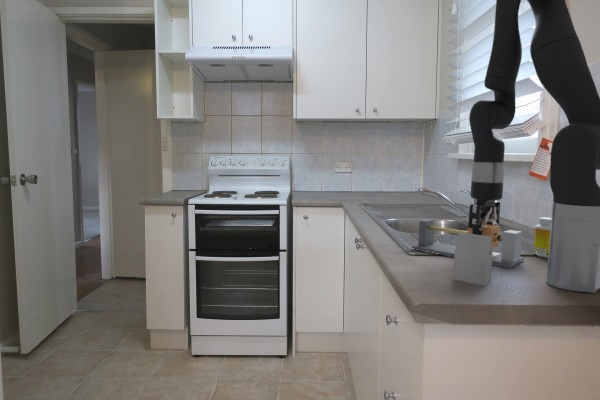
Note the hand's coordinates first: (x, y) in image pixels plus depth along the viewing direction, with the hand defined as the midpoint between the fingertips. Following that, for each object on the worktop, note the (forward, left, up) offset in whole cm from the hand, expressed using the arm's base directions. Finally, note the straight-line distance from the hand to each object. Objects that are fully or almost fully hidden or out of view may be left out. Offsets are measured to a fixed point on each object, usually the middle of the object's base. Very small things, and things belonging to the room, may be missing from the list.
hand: (483, 242), depth 114 cm
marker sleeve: (0, 0, -1) cm, 1 cm away
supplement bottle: (-11, -16, -4) cm, 20 cm away
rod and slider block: (+4, 0, -4) cm, 6 cm away
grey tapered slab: (-7, +22, -4) cm, 23 cm away
